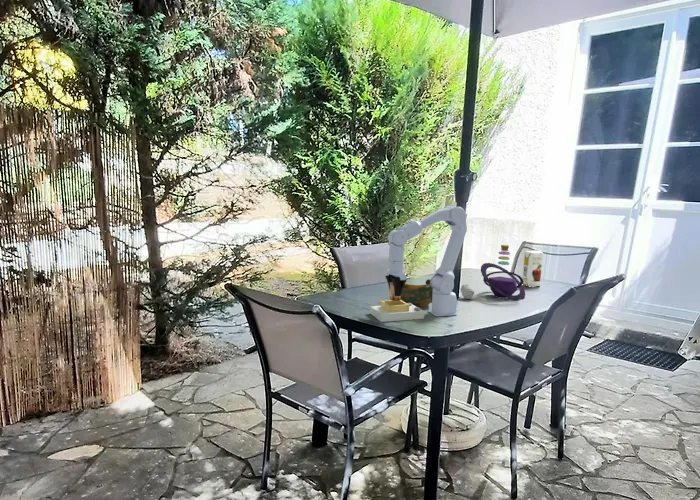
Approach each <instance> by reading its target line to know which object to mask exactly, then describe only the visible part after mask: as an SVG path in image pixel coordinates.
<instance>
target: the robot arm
mask: <svg viewBox="0 0 700 500" xmlns="http://www.w3.org/2000/svg"><path fill="white" fill-rule="evenodd" d="M467 217H468V214H467V213H466V210H465V209H464V208H463V207H461V206H452V205H446V206H444V207H441V208H439V209H437V210H436V211H434V212H432V213H430V214H429V215H427V216H425V217H423V218H422V219H420V220H418V221H417V220H414V219H413V220H408V223H407V224H404V225H402V226H398V227H397V229H392V230H391V231H389V233H388V236H387V242H388V243H389V250H388V251H389V253H388V268H386V271H385V274H387V275H385V280H386V281H387V285H388V289H389V291H390V281H392V282H393V285H394V294H395V296H401V292H402V289H403V286H404V284H406V282H407V275H406V274H405V272H404V265H405V264H404V262H405V261H404V260H405V259H404V258H405V254H404V253H405V244H406V243H407V242H408V241H409V240H411V239H413V238H414V237H418V235H420V234H421V233H422V231H423V230H424V229H425V228H427V227H429V226H432V225H434V224H436V223H438V222H440V221H443V222H445V223H446V224H448V226H449V228H450V230H451V233H450V236H449V239H448V242H447V245H446V248H445V251H444V254H443V257H442V260H441V262H440V263H441V264H440V266H439V267H438V268H437V269H436V270H435V272H434V274H433V275H432V276H431V278H430V284H431V286H432V287H433V293H432V303H431V309H427V312H428V313H429V314H432V315H433V316H435V317H445V316H446V317H447V316H458V314H457V302H458V300H457V295H456V293H455V292H453V290H454V287H455V283H454V282H455V281H454V280H455V274H454V269H455V267H456V263H457V262H458V257H459V255H460V252H461V249H462V245H463V243H464V240H465V237H466V234H467V232H468V231H467V230H468V226H467Z"/></svg>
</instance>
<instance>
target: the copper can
mask: <svg viewBox="0 0 700 500" xmlns="http://www.w3.org/2000/svg"><path fill="white" fill-rule="evenodd" d="M389 300H393V301H399V300H401V296H395V294H394V285H393V282H392V281H390V290H389Z"/></svg>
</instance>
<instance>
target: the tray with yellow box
mask: <svg viewBox="0 0 700 500" xmlns="http://www.w3.org/2000/svg"><path fill="white" fill-rule="evenodd" d="M370 314H371V316H373V317H374V318H376V319H377V321H379V322H381V323H383V322H385V323H386V322H396V321H411V320H412V321H413V319H414V320H423V319H425V310H423V309H421V308H419V307H416V306H414V305H412V303H405V302H404V301H402V300H399V301H393V300H390V299H389V300H380V305H376V306H375V305H371V306H370Z"/></svg>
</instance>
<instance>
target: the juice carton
mask: <svg viewBox="0 0 700 500" xmlns="http://www.w3.org/2000/svg"><path fill="white" fill-rule="evenodd" d="M543 258H544V251H540V250H524V254H523V265H522V276H521V278H522V279H523V285H527V286H540V287H541V285H542V273H543ZM523 285H522V286H523Z"/></svg>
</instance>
